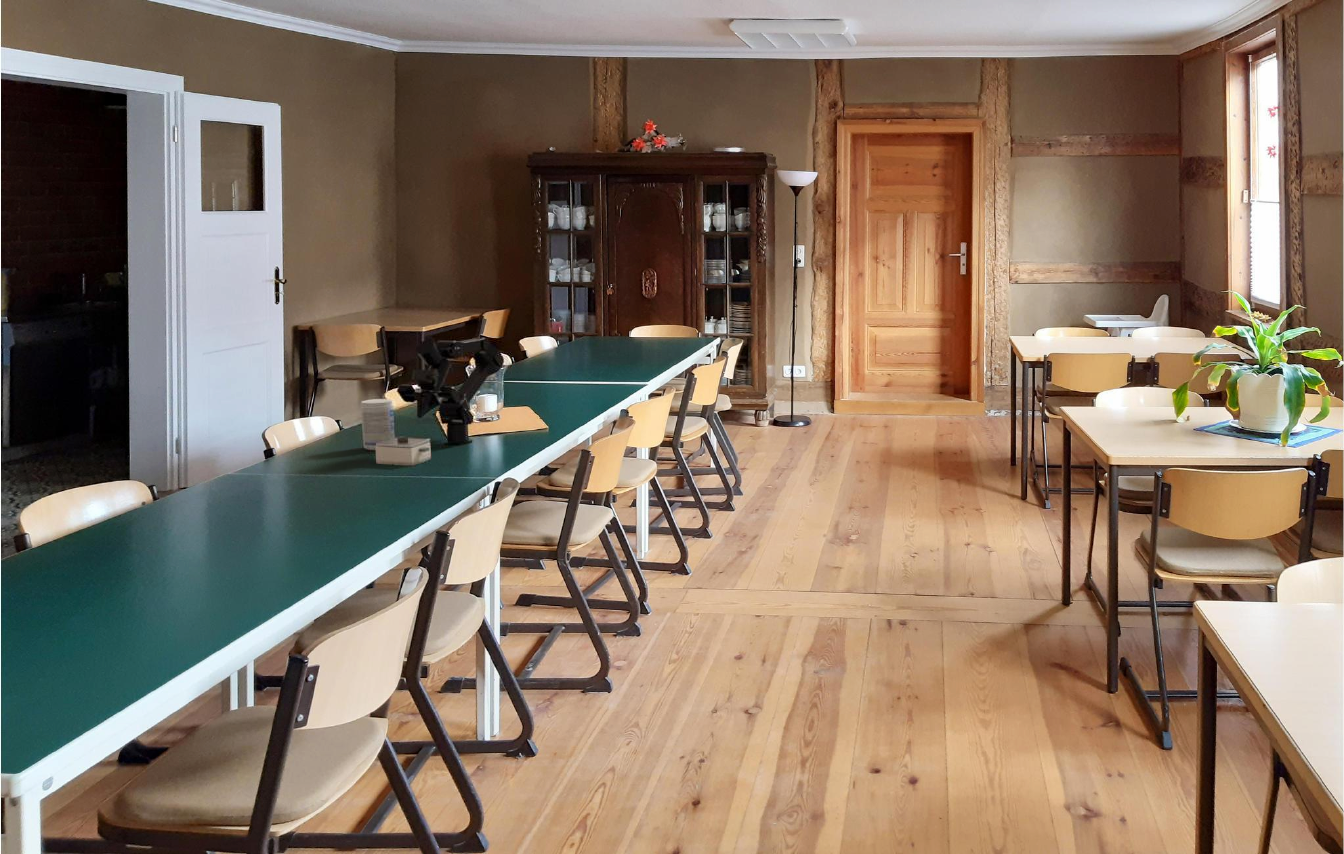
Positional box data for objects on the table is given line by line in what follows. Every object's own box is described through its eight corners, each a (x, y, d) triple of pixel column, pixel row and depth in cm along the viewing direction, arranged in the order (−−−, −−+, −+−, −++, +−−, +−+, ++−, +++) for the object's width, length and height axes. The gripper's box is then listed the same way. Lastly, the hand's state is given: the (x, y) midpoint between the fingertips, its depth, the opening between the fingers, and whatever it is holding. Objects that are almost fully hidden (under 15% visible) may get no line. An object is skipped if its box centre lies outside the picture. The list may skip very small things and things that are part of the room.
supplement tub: (400, 448, 383) (397, 401, 380) (370, 452, 378) (367, 404, 375) (388, 444, 391) (385, 397, 388) (358, 447, 386) (356, 400, 383)
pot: (389, 456, 369) (388, 440, 369) (436, 459, 364) (436, 442, 363) (370, 463, 360) (369, 446, 359) (418, 466, 355) (417, 448, 354)
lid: (395, 439, 368) (395, 433, 368) (430, 441, 364) (430, 434, 364) (376, 445, 359) (375, 439, 358) (411, 447, 355) (411, 441, 354)
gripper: (398, 357, 374) (379, 399, 366) (453, 359, 367) (435, 402, 359) (413, 380, 382) (396, 421, 374) (467, 382, 376) (450, 424, 368)
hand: (418, 417), depth 369 cm, fingers closed
